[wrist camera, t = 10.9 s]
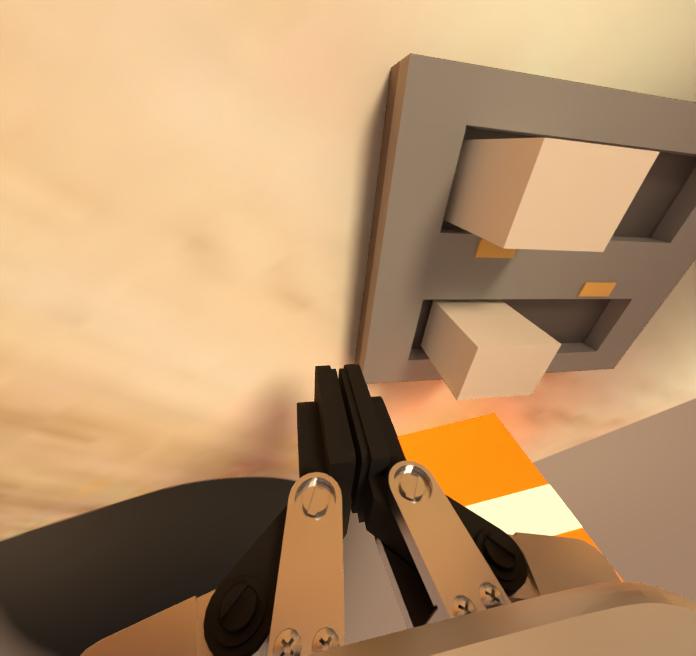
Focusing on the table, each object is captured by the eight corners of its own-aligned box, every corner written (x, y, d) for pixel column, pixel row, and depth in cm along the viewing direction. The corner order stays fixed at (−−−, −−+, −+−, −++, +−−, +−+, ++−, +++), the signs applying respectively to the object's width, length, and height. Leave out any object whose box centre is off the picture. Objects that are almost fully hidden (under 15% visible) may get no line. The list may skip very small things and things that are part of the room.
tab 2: (499, 299, 16) (561, 344, 12) (481, 343, 17) (531, 394, 14) (433, 299, 15) (478, 347, 11) (420, 345, 17) (456, 400, 13)
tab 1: (549, 149, 12) (659, 151, 8) (520, 223, 14) (603, 251, 10) (463, 139, 11) (545, 137, 8) (443, 219, 13) (503, 248, 9)
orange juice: (483, 463, 28) (767, 929, 11) (396, 485, 27) (563, 1012, 11) (495, 411, 24) (987, 1043, 7) (392, 436, 23) (664, 1195, 6)
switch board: (739, 123, 14) (803, 120, 12) (588, 351, 21) (614, 369, 20) (391, 67, 11) (411, 52, 9) (354, 362, 18) (362, 385, 16)
